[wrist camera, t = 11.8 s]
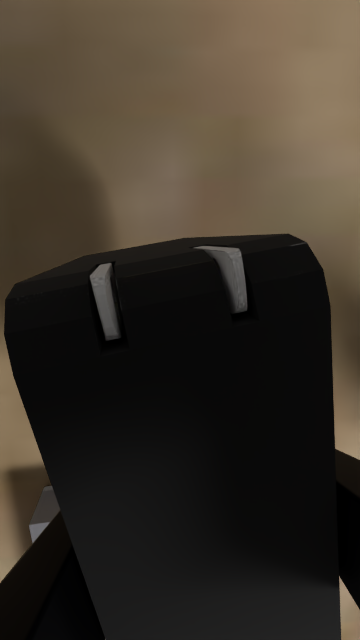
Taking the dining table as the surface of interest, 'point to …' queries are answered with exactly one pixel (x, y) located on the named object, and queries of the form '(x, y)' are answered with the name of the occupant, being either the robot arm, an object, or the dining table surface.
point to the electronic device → (189, 433)
